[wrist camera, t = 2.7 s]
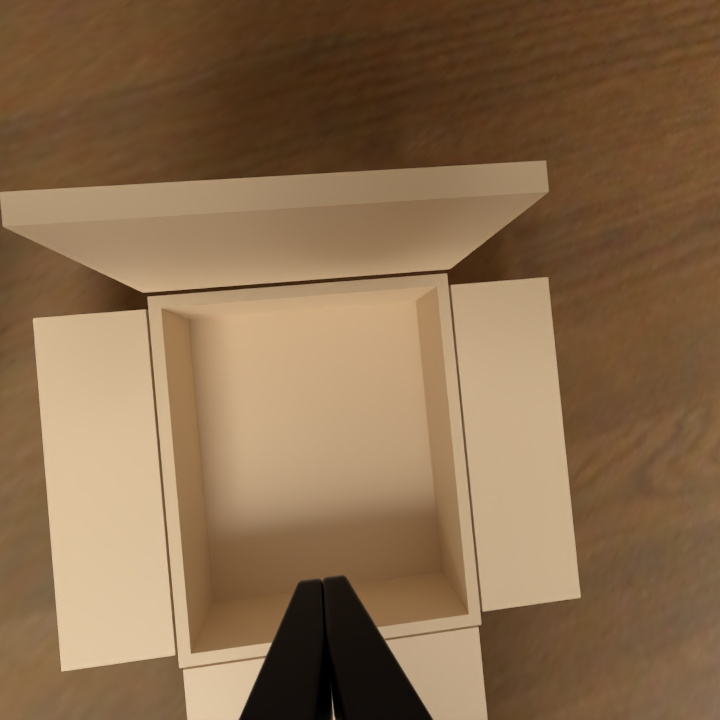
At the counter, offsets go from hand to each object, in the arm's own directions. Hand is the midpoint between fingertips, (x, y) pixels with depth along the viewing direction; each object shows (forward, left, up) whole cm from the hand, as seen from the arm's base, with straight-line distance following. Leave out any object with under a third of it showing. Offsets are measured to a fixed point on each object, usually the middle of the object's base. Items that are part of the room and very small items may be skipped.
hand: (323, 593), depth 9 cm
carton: (-1, 0, -12) cm, 12 cm away
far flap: (+7, -3, -7) cm, 10 cm away
